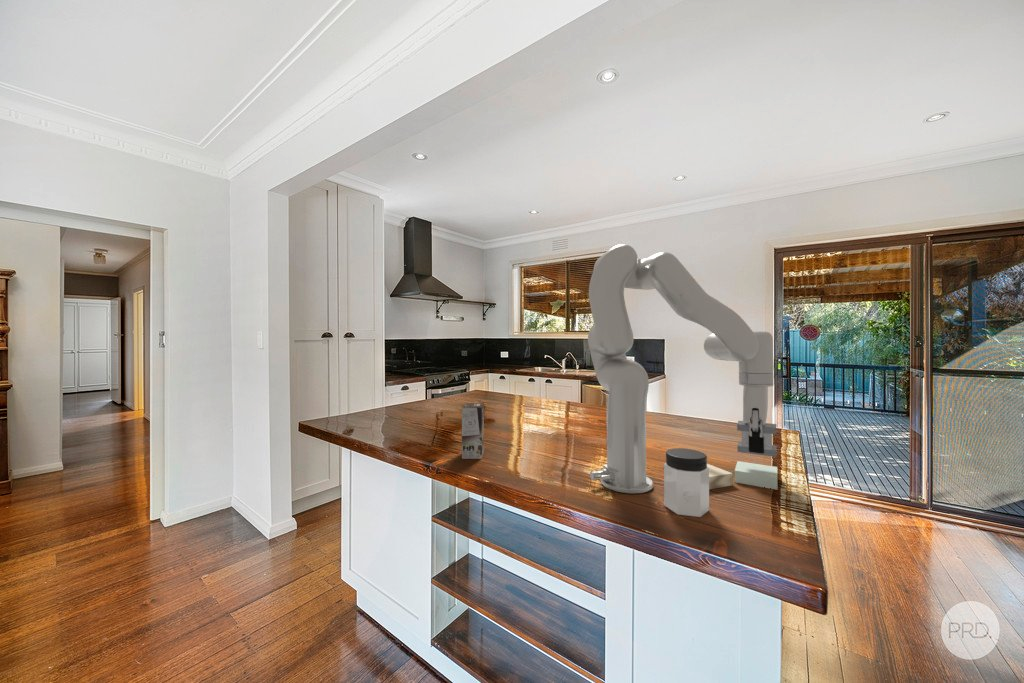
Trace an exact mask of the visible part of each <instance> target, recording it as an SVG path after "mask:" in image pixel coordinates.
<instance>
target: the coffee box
mask: <svg viewBox="0 0 1024 683" xmlns="http://www.w3.org/2000/svg"><path fill="white" fill-rule="evenodd" d="M484 403H485V402H473V403H472V402H471V403H464V404H463V406H461V459H463V460H467V459H468V460H481V459H482V458H483V455H484V451H485V428H484V426H485V424H484V423H485V422H484V420H485V418H484V416H485V415H484V414H485V411H484V409H485V408H484Z"/></svg>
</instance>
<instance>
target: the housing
mask: <svg viewBox="0 0 1024 683" xmlns="http://www.w3.org/2000/svg"><path fill="white" fill-rule="evenodd" d="M749 424H750V421H749V422H748V423H746V424H744V423H743V420H738V421H737V423H736V431H740V432H741V441H739V440H738V443H737V446H736V447H737V450H736V451H737V453H743V454H750V455H758V456H759V455H760V456H765V457H774V458H777V457H778V449H777V448H778V447H777V445H774V444H773V435H777V424H776V423H768V422H766V424H765V425H764V426H763V424H762V426H763V427H762V437H764V453H763V454H761V453H754V452H749V436H750V426H749ZM751 424H752V422H751ZM758 425H761V423H758ZM758 428H760V427H758Z"/></svg>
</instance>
